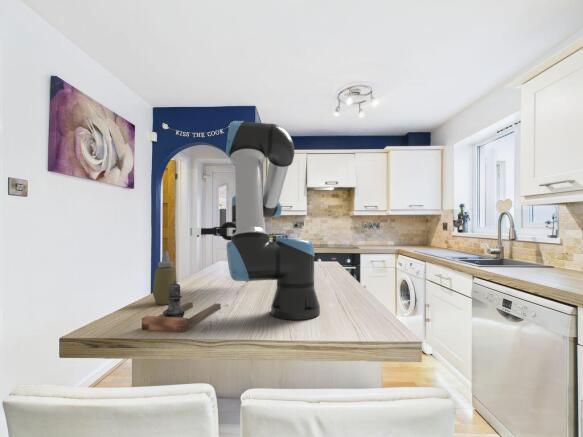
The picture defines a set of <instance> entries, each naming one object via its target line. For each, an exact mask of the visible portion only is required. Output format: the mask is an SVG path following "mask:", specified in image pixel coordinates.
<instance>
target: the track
mask: <svg viewBox="0 0 583 437" xmlns="http://www.w3.org/2000/svg"><path fill="white" fill-rule="evenodd" d="M180 305H181V308H183V309H185V310H186V311H188V310H190V309H191V308H194V302H192V301H191V302H190V301H186V302H184V303H182V304H180ZM221 308H222V306H221V303H213V304H211V305H210V306H208V307H206V308H204V309H203V310H201V311H200V312H198V313H196V314H193V316H190V317H189V318H188V317H183V318H179V317H164V314H163V313H162V314H159V315H144V316H143V317H141V330H142V331H143V330H145V331H146V330H147V331H157V332H158V331H159V332H176V333H185V332H186V331H188V330H189V329H191V328H192V327H194V326H196V325H197V324H199V323H200V322H202V321H203V320H205V319H207V318H208V317H209V316H211V315H213V314H214V313H216V312H217V311H218V310H220V309H221Z"/></svg>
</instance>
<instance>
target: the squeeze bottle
mask: <svg viewBox="0 0 583 437" xmlns="http://www.w3.org/2000/svg"><path fill="white" fill-rule="evenodd" d="M173 266H174V262H173V261H170V255H169V251H164V252H163V255H162V258H161V261H159V262H158V268H156V269H155V272H154V279H153V280H154V281H153V288H152V289H153V290H152V295H153V298H154V302H155V304H156V305H161V306H162V305H163V306H164V305H169V299H168V297H169V286H170V285H171V284H173V283H174V280H175V281H176V283H177V284H178V282H177V270H176V268H175V267H173Z"/></svg>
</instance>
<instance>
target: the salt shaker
mask: <svg viewBox="0 0 583 437" xmlns="http://www.w3.org/2000/svg"><path fill="white" fill-rule="evenodd" d="M181 298H182V295H181V285H180V284H178V282H177V283H176V281H175V280H174V283H173V284H171V285H170V286H169V297H168V299H169V304H168V307H167V309H165V310H163V312H162V314H164V317H179V318H184V316H185V313H186V311H187V310H185V309H183V308H181V305H182V304H181Z"/></svg>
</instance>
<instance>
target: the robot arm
mask: <svg viewBox="0 0 583 437" xmlns="http://www.w3.org/2000/svg"><path fill="white" fill-rule="evenodd" d="M225 146H226V147H225V155H226V156H228V157H229V158H230V159H229V160H230V162H231V163H232V164H234V176H235V177H234V179H235V181H234V182H235V184H234V186H235V187H234V188H235V190H234V191H235V195H234V196H232V197H231V198H232V199H231V221H226V222H224V223H223V224H222V225H220V226H213V227H208V228H207V227H204V228H203V227H190V228H189V229H190V230H189V236H191V237H192V236H196V237H197V238H198V237H200V236H201V235H204V236H205V235H207V236H208V235H213V236H217V237H222V239H224V240H225V241H227V242H226V258H227V264H228V265H227V266H228V271H229V275H230V277H231V279H232V280H234V282H247V283H248V282H253V281H254V282H255V281H258V282H259V281H276V289H275V293H274V295H273V300H272V302H271V305H270V314H271V315H272V317H275V318H279V319H283V320H290V321H291V320H292V321H294V320H295V321H299V320H300V321H303V320H309V319H310V320H311V319H313V318H316V317H318V316H320V314H321V306H320V302H319V299H318V296H317V293H316V289H315V257H316V255H315V247H314V244H313V242H312V241H310V240H306V239H299V238H291V237H283V236H277V238H276V239H275V240H276V241H271V240H270V234H269V233H268V232H266V230H265V225H264V224H265V222H264V218H279V217H280V216H281V215H282V211H283V210H282V202H281V201H280V198H281V194H282V191H283V187H284V184H285V180H286V177H287V173H288V170H289V167H290V166H291V165H292V164H293V161H294V157H295V146H294V141H293V139H292V137H291V135H290V134H289V133H288V131H287V130H286V129H285V128H284V127H282V126H281V125H279V124H275V123H266V122H250V121H244V120H233V121H231V122H230V123H229V126H228V131H227V139H226V145H225ZM266 158H267V160H268V162H269V163H268V166H267V172H266V175H265V182H264V186H263V183H262V182H263V181H262V180H263V179H262V164H264V162H265V159H266Z"/></svg>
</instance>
